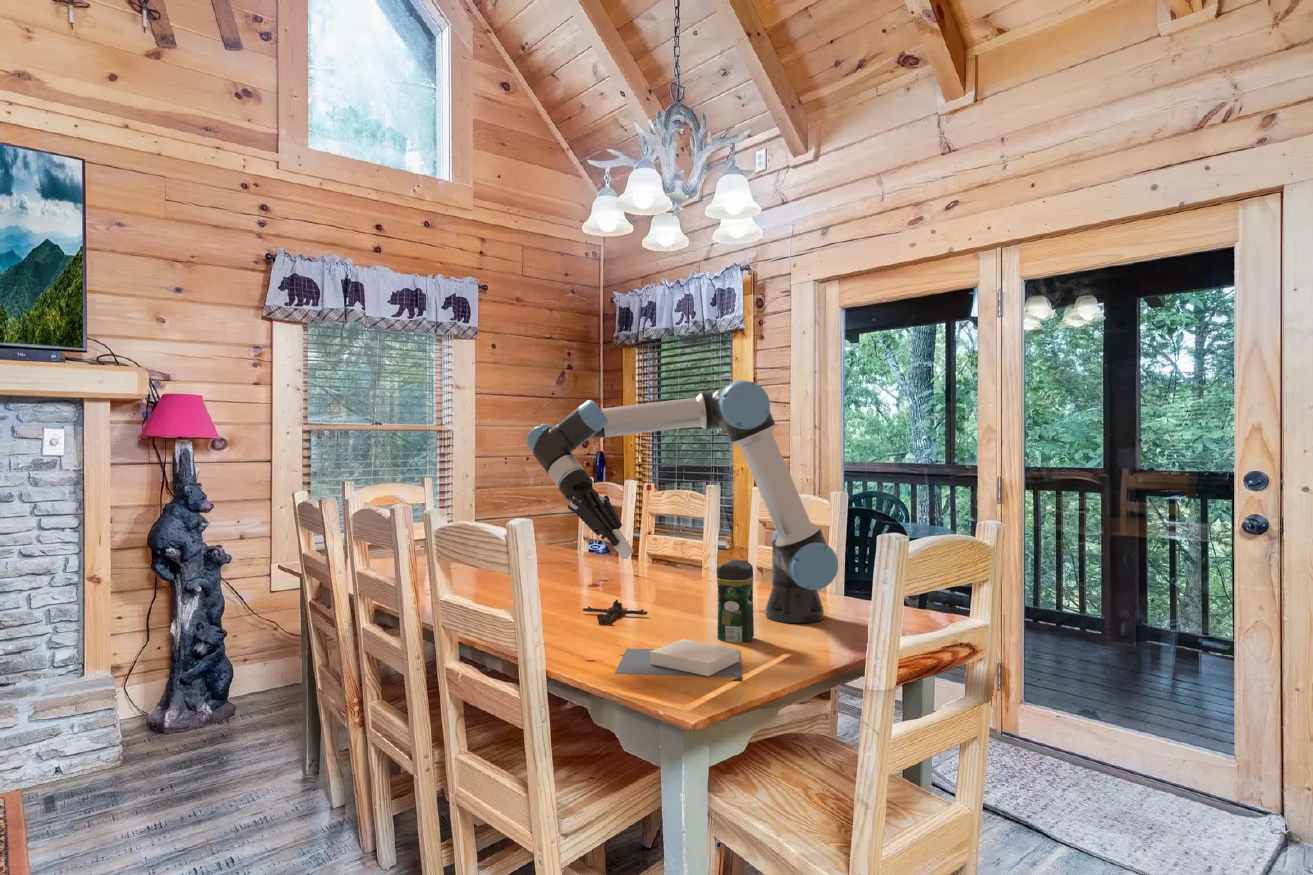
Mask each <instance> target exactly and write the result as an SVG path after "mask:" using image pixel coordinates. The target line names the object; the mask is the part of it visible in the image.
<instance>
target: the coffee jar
mask: <svg viewBox="0 0 1313 875" xmlns="http://www.w3.org/2000/svg"><path fill="white" fill-rule="evenodd" d="M716 571H717V572H716V573H717V574H716V581H717V633H716V634H717V640H718V641H721V642H726V643H727V642H728V643H737V644H741V643H749V642H751V641H752V640H753V638H754V635H755V633H754V632H755V629H754V628H755V627H754V624H755V623H754V568H753V564H751V563H750V562H749V561H747V560H744V559H743V560H740V559H731V560H730V561H728V562H725V563H722V564H721V565H719V566H718V567H717V568H716Z"/></svg>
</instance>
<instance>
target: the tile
mask: <svg viewBox="0 0 1313 875" xmlns="http://www.w3.org/2000/svg"><path fill="white" fill-rule="evenodd" d="M654 649H655V650H652V651H650V664H653V665H655V666H659V667H664V668H669V669H673V670H678V671H683V672H688V673H692V674H697V675H702V676H701V677H706V678H708V677H712V676H711V675H713V674H715V673H717V672H719V671H721V670H723V669H725V668H727V667H729V666H731V665H733V664H735V663H737V662H739V651H740V649H739V648H734V647H728V646H722V645H718V644H711V643H706V642H702V641H701V642H700V641H696V640H690V639H685V638H680V639H679V640H676V641H673V642H670V643H668V644H666V645H664V646H660V647H658V648H654Z"/></svg>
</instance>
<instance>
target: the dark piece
mask: <svg viewBox="0 0 1313 875" xmlns="http://www.w3.org/2000/svg"><path fill="white" fill-rule="evenodd" d="M622 605H623V603H622V602H619V599H615V601H614V602H613V603H612V607H611V606H610V607H608V609H607V608H597V607H596V608H593V607H590V606H589V605H587V607H584V608H582V611H583V612H587V613H593V612H594V613H598V614H597V615H596V617H597V621H598V625H604V623H605V625H608V624H609V625H611V623H612V622H613V621H614V620H615V619H616V618H618V617H619V615H621V614H622V615H623V614H624V615H643V616H644V615H645V616H646V615H647V614H648V611H644V610H645V609H643V608H642V609H640V610H633V609H631V610H628V607H623V606H622ZM603 613H604V614H603ZM609 625H608V626H609Z"/></svg>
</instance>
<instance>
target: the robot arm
mask: <svg viewBox="0 0 1313 875" xmlns="http://www.w3.org/2000/svg"><path fill="white" fill-rule="evenodd" d="M695 427H701V428H702V429H703V430H710V429H712V430H713V429H723V430H726V433H727V435H728V437H729V440H730V442H731V444H732V445H736V446H737V447H739V448H740V450H741V452H742V455H743V456H744V459H745V462H746V463H747V466H748V468H749V471H750V473H751V475H752V478H753V480H754V482H755V484H756V488H757V489H758V492H759V494H760V496H761V498H762V501H763V503H764V506H765V507H766V510H767V512H768V515H769V517H770V520H771V522H772V524H773V527H774V530H775V531H774V532H773V534H772V541H771V545H772V546H771V547H772V548H771V549H772V550H771V551H772V559H771V560H772V563H771V564H772V566H771V567H772V573H771V574H772V585H771V586H772V587H771V591H770V594H769V597H768V599H767V603H766V605H765V606H766V607H765V616H766V618H768V619H770V620H772V621H776V622H781V623H791V624H811V623H816V622H817V623H818V622H821V621H823V620H824V618H825V612H824V611H825V610H824V607H823V603H822V600H821V597H820V594H819V593H820V592H819V591H818V590H821V589H823V588H824V589H825V587H828V586H829V585H830V584H832V582H833V581H834V580H835V578H836V576H837V574H838V570H839V558H838V556H837V554H836V553H835V551H834V550H833V548H832V547H831V546H830V545H828V543H827V541H826V538H825V536H824V534H823V533H822V532H823V531H822V530H821V528H820V526H819V525H818V524H815V523H813V522H811V520H810V517H809V515H808V513H807V511H806V509H805V506H804V504H803V502H802V498H801V497H800V495H799V492H798V490H797V487H796V484H795V483H794V481H793V480H794V479H792V476H791V474H790V471H789V468H788V467H787V464H786V462H785V459H784V458H783V457H784V456H783V454H782V453H781V449H780V448H779V445H778V443H777V440H776V439H775V436H774V430H775V427H776V422H775V421H774V417H773V416H772V413H771V403H770V397H769V395H768V393H767V392H766V390H765V388H763V387H762V386H761V385H759V384H758V383H755V382H753V381H750V380H744V379H743V380H737V381H734V382H732V383H729V384H728V385H726V386H724V387H721V388H719V389H716V390H712V391H707V392H706V391H705V392H700V393H699V394H698V395H697V396H696V397H689V398H683V399H682V398H680V399H672V400H665V401H664V400H663V401H655V402H647V403H638V404H631V405H630V404H629V405H621V406H615V407H613V406H612V407H606V408H600V407H599V406H598V405H597V403H596V402H595V401H594V400H592V399H588V400H586V401H585V402H584V403H583V404H580V405H579V406H578V407H577V408H576V409H574V410H573V411H572V412H571V413H569V414H568V415H567V416H566V417H565V418H564V419H561V421H560V422H558V423H556V424H555V425H554V426H551V425H550V424H548V423H542V424H540V425H539V426H535V427H534V428H533V429H532V430H530V432H529V433H528V435H527V437H526V444H527V447H528V449H529V450H530V451H531V453H532V455H533V456H534V458H535V459H536V460H537V462H538V463H539V464H540V466H541V467H542V469H544V471H545V472H546V474H547V475H548V476H549V477H550V479H551V480H552V481H553V483H554V484H555V485H556V487H558V490H559V491H560V493H561V494H562V496H564V499H565V500H567V501H569V504H568V505H567V508H568V510H570V511H571V512H573V513H574V514H575V515H576V516H577V517H578V518H579V519H580V520H582V522H583V523H584V524H585V525H586V526H587V527H588V528H589V529H590V530H591V531H592V532H593V533H594V534H595V535H596V536H600V535H601V537H600V538H601V539H602V540H605V539H607V540H608V542H609V543H610V545H611V546H613V548H614V549H615V551H616V552H617V553H618V554H619V556H620V557H621V559H623V560H626V559H629V558H630V556H631V555H632V554H633V552H635V550H634V548H633V547H632V546H631V545H630V543H629V542H628V540H627V539H626V537H625V536H624V535H623V534H622V532H621V530H620V529H621V527H622V526H623V524H622V522H621V519H619V516H618V515H617V512H616V511H615V509H614V507H613V506H612V504H611V501H610V497H609V496H608V494H607V495H606V494H605V495H604V496H601V495H600V494H599V492H598V491H597V490H595V488H594V487H593V484H594V483H593V479H592V477H591V476H590V474H588V472H587V470H585V469H584V467H583V466H582V464H581V463H580V462H579V461H578V459H577V458H576V457H575V456H574V454H573V453H572V452H574V451H575V450H576V449H577V448H578V447H580V446H581V445H582V444H583V443H585V442H587V441H588V440H589V441H590V440H594V439H595V440H596V439H602V438H603V439H604V438H611V437H619V436H625V435H635V434H644V433H652V432H660V431H669V430H677V429H686V428H695Z"/></svg>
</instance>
